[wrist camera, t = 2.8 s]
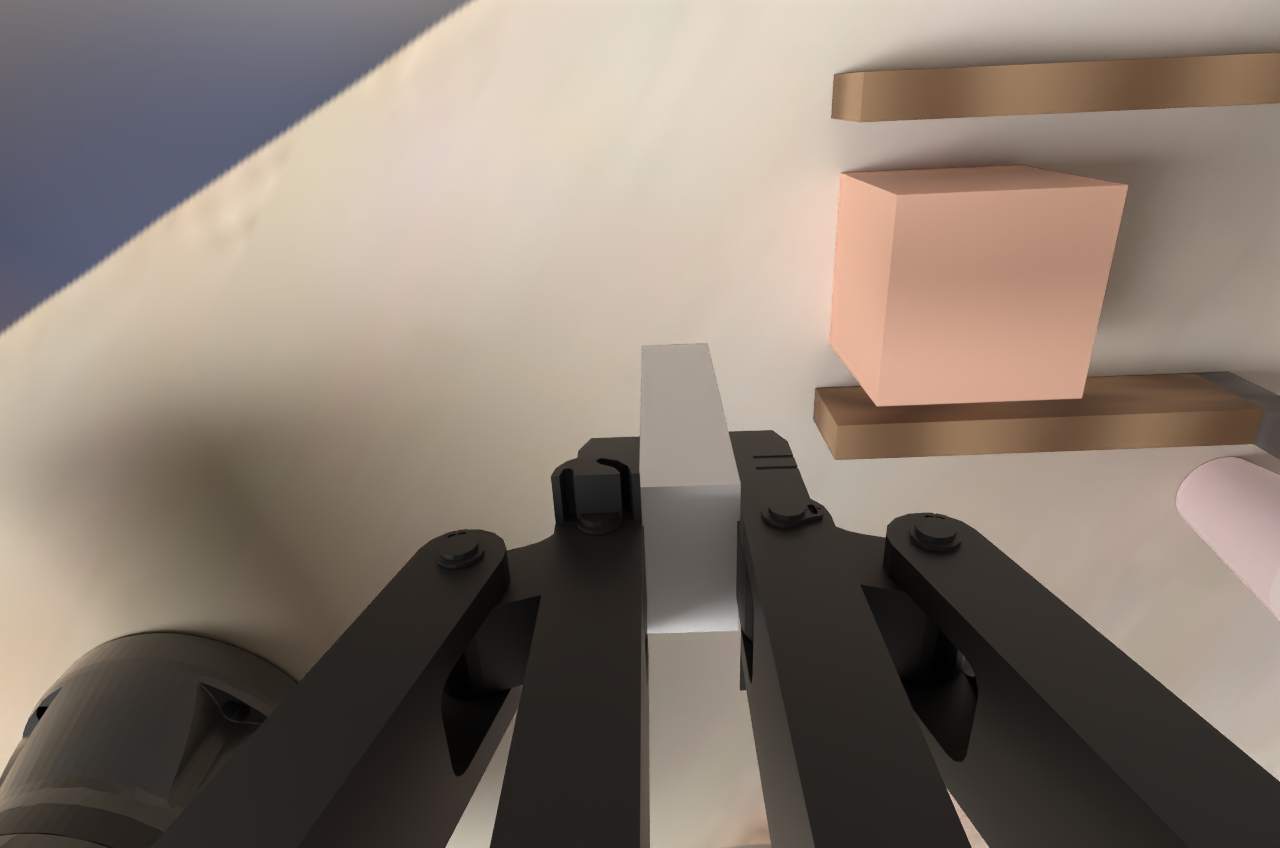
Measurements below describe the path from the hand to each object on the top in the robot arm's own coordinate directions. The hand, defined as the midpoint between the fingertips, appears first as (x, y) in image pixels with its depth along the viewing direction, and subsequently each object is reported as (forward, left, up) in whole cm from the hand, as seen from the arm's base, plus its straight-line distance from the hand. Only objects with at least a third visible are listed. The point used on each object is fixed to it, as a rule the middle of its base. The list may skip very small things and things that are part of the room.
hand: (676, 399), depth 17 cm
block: (+11, 0, -14) cm, 18 cm away
